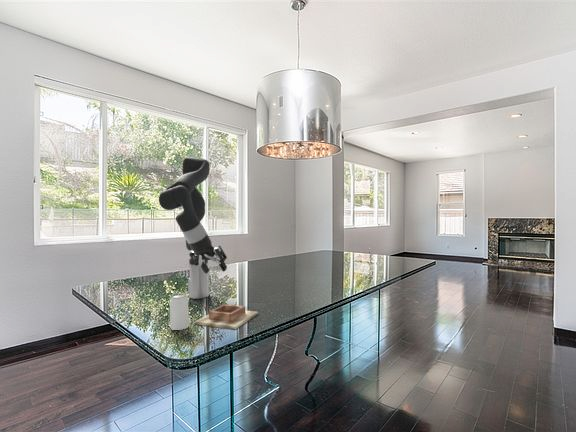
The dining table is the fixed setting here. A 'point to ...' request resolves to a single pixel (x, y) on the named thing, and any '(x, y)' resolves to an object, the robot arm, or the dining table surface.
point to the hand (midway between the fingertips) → (216, 271)
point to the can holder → (227, 317)
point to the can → (179, 312)
